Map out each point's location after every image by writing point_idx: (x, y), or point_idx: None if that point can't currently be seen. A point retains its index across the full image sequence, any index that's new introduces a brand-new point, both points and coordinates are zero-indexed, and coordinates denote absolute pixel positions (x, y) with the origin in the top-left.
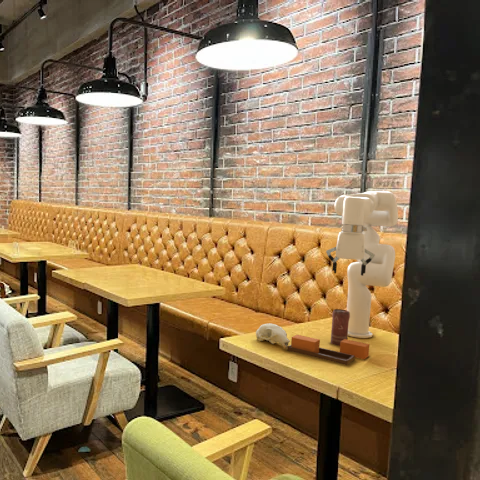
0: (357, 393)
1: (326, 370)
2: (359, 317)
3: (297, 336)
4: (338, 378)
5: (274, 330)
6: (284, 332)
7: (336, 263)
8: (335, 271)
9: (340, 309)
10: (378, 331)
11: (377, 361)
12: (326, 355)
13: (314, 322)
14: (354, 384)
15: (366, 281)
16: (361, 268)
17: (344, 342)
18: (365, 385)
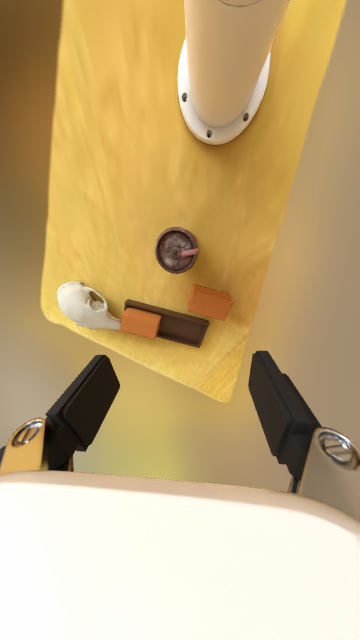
0: (208, 395)
1: (179, 361)
2: (234, 86)
3: (125, 324)
4: (192, 375)
5: (90, 326)
6: (103, 319)
7: (86, 444)
8: (113, 395)
9: (171, 230)
10: None
11: (239, 306)
12: (172, 321)
13: None
14: (206, 382)
15: None
16: (265, 412)
17: (193, 312)
18: (216, 380)
